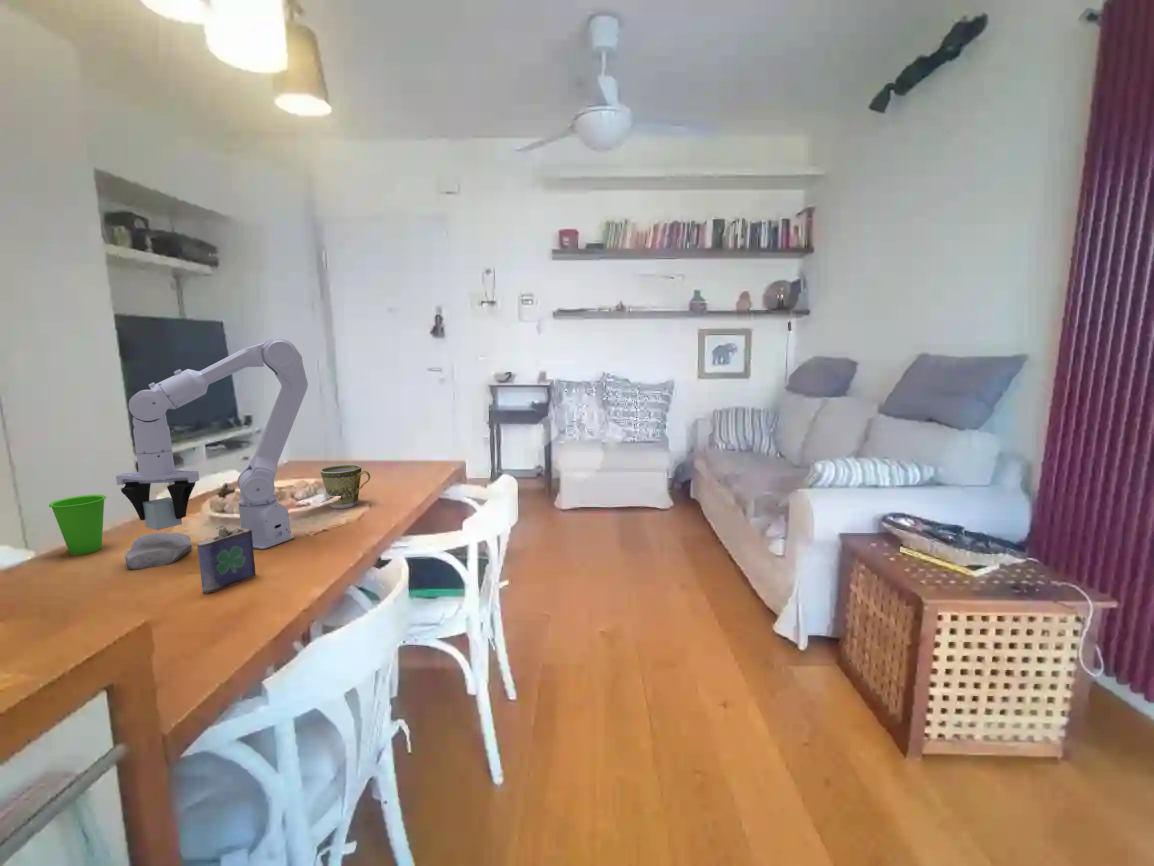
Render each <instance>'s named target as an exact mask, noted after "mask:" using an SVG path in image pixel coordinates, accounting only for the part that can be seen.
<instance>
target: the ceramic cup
mask: <svg viewBox="0 0 1154 866" xmlns="http://www.w3.org/2000/svg"><path fill="white" fill-rule="evenodd" d="M363 474H366V475H367V476H368V477H367V480H365V482H363V483H361V476H362V475H363ZM320 475H321V479H322V482H323V485H324V487H325V492H326V494H327V493H328V494H329V495H330V496H341V498H340V499H339V500H338V501H336V502H335V503H334V505H331V504H330V503H329V506H330V507H331V508H332V509H339V510H340V509H341V510H342V509H347V508H349V509H350V508H353V507H355V506H357V505H358V504H359V495H360V490H361V489H362V488H363V487H364V486H365V485H366V484H367V483H368V482H369V481H370V479H371V475H370V473H369V471H366V470H363V471H362V465H359V464H349V463H348V464H338V465H331V466H330V465H329V466H326V467H322V468H321V469H320Z"/></svg>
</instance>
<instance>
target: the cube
mask: <svg viewBox="0 0 1154 866" xmlns="http://www.w3.org/2000/svg"><path fill="white" fill-rule="evenodd" d="M143 508H144V515H145V520H144V521H145V528H149V529H151V530H155V531H159V530H164V529H168V528H172V527H177V526H180V525H183V521H182V518H181V519H176V517H175V512H174V505H173V501H172V498H171V496H168V497H162V498H158V499H152V500H149V501H147V502H143Z"/></svg>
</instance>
